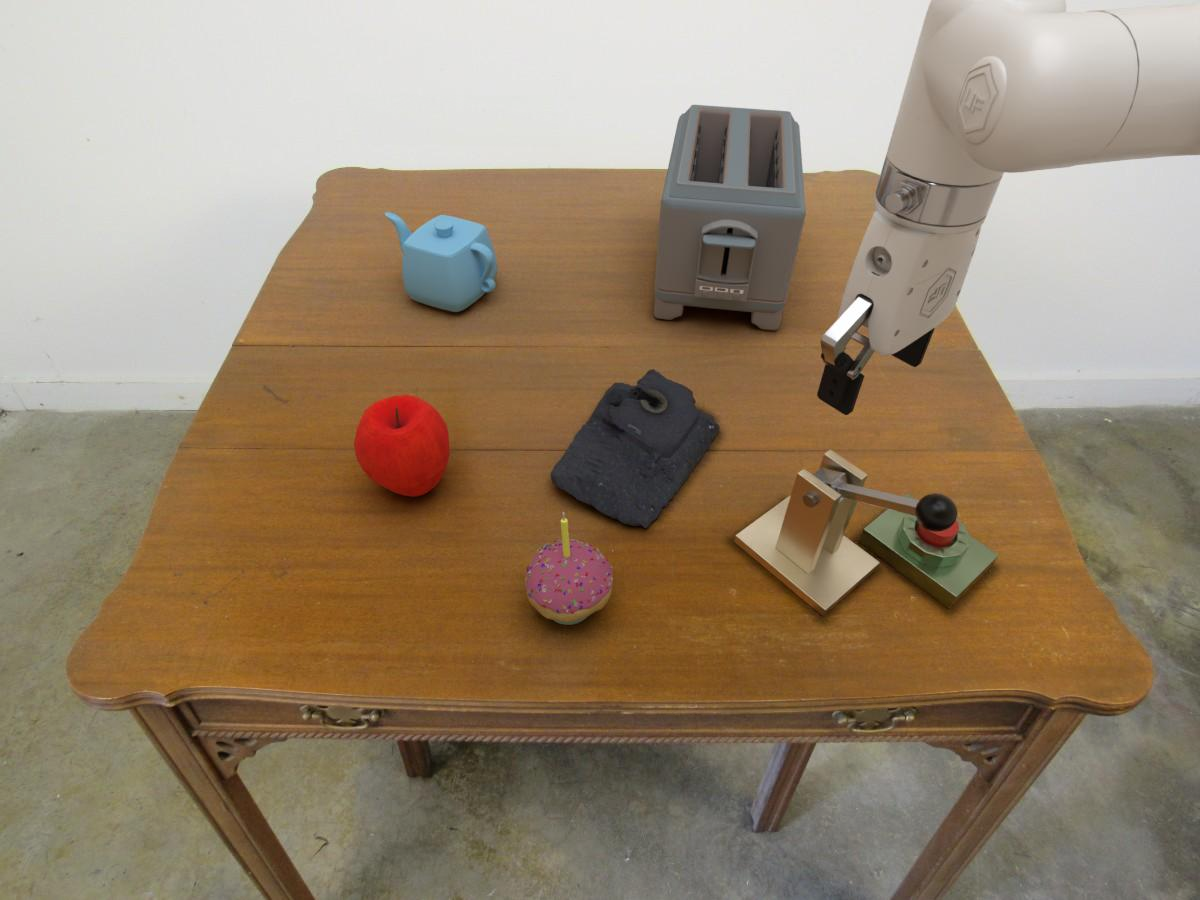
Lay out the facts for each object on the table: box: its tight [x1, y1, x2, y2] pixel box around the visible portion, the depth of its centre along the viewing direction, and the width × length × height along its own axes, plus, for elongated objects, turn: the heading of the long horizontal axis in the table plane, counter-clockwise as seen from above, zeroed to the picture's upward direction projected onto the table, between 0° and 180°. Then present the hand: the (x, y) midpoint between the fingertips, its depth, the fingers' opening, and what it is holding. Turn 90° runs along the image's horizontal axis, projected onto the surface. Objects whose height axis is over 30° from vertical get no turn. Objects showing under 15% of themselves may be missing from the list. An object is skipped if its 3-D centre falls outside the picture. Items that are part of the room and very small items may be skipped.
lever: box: [811, 468, 958, 532], centre depth 66 cm, size 14×3×3 cm, turn 40°
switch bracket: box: [733, 448, 881, 617], centre depth 74 cm, size 12×9×13 cm
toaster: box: [653, 104, 807, 331], centre depth 109 cm, size 19×33×20 cm, turn 171°
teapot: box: [384, 211, 498, 313], centre depth 109 cm, size 12×18×12 cm
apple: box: [353, 394, 451, 498], centre depth 80 cm, size 10×10×12 cm
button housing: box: [858, 492, 1000, 609], centre depth 77 cm, size 11×8×4 cm
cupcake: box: [524, 511, 614, 626], centre depth 70 cm, size 9×8×12 cm
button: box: [917, 520, 959, 547], centre depth 76 cm, size 4×4×2 cm
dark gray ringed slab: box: [550, 368, 720, 529], centre depth 87 cm, size 15×22×5 cm
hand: (869, 381), depth 63 cm, fingers open, 9 cm apart
